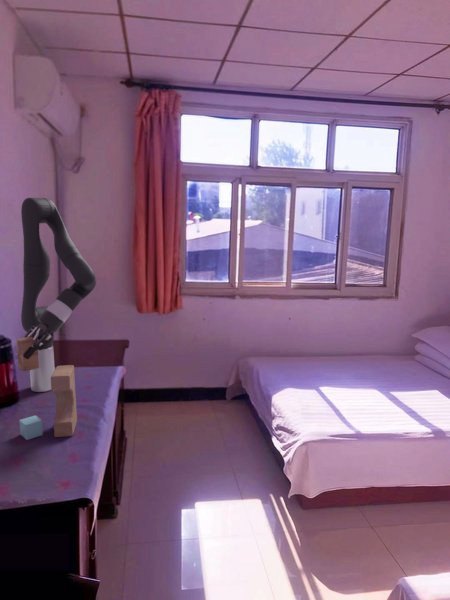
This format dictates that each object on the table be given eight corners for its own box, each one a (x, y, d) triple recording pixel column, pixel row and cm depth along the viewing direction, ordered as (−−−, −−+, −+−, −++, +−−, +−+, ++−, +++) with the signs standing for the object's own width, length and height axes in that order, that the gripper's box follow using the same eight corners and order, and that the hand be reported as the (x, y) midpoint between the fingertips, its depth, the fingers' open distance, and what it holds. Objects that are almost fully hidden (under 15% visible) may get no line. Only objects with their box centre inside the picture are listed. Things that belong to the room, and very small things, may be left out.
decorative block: (72, 436, 139) (69, 376, 135) (53, 438, 138) (49, 376, 134) (77, 421, 150) (74, 364, 146) (60, 422, 149) (56, 365, 145)
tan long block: (18, 367, 150) (16, 339, 148) (33, 364, 153) (31, 336, 152) (23, 371, 146) (21, 342, 145) (39, 368, 150) (37, 339, 148)
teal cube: (20, 434, 140) (19, 419, 139) (36, 429, 144) (35, 415, 143) (26, 440, 137) (25, 425, 136) (42, 435, 140) (41, 420, 139)
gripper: (39, 305, 156) (5, 344, 151) (56, 312, 146) (21, 354, 140) (54, 318, 161) (22, 356, 155) (72, 325, 151) (39, 367, 145)
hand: (22, 355), depth 148 cm, fingers closed on tan long block, 5 cm apart
